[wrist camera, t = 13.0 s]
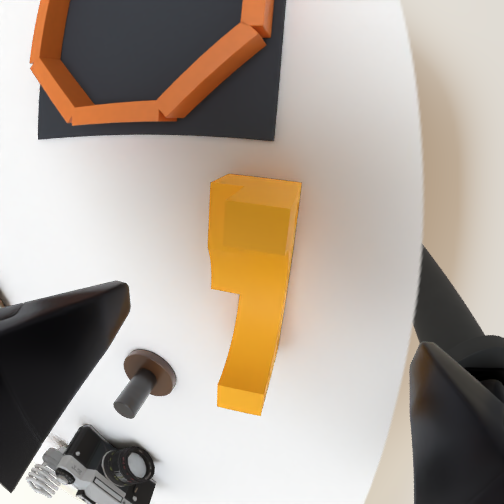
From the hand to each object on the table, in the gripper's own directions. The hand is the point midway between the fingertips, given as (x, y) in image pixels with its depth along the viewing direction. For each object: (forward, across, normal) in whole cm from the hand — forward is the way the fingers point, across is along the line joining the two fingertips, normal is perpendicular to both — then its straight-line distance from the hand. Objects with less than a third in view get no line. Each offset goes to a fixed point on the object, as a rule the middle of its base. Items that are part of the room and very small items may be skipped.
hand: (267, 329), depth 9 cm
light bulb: (+11, +32, +46) cm, 57 cm away
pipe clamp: (+11, +2, +4) cm, 12 cm away
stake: (+11, +11, +16) cm, 22 cm away
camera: (+11, +17, +36) cm, 41 cm away
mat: (+11, +12, -14) cm, 21 cm away
